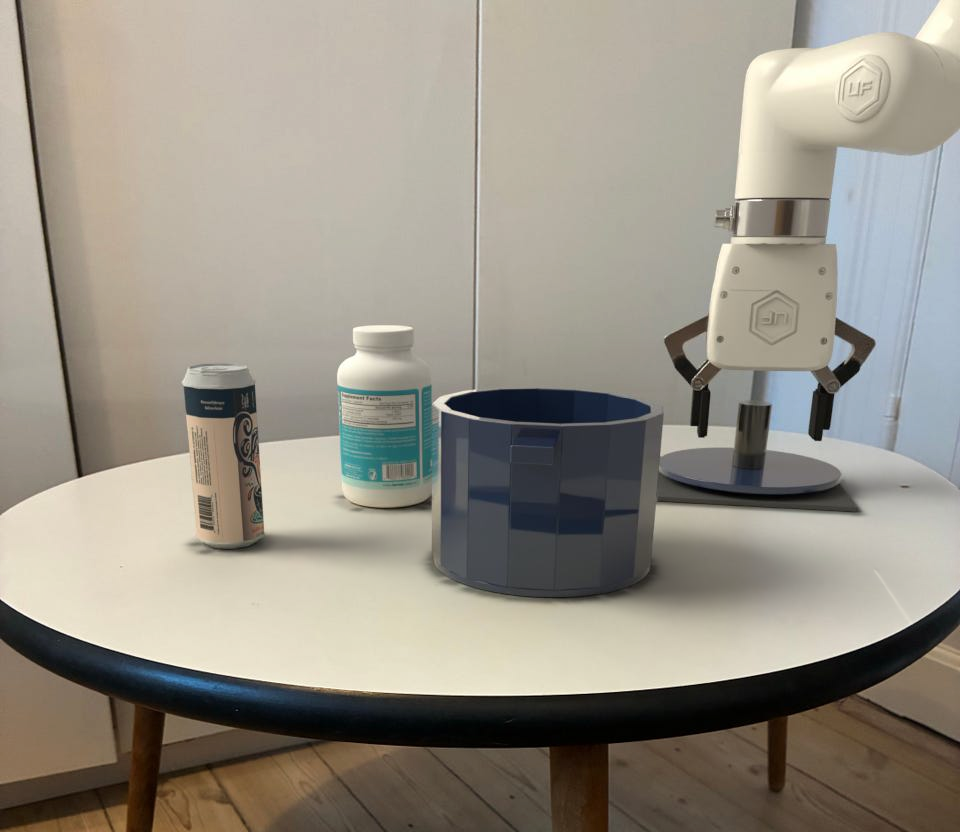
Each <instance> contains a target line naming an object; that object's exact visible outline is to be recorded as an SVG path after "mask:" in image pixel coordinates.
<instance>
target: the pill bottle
mask: <svg viewBox="0 0 960 832" xmlns="http://www.w3.org/2000/svg"><path fill="white" fill-rule="evenodd" d="M352 343H353V345H354V348H355V349H356V352H355V354H354V355H353V356H350V357H348V358H346V359H344V361H342V362H341V364H339V367H338V369H337V372H336V380H337V404H338V405H337V406H338V407H337V408H338V428H339V432H338V433H339V450H340V451H339V452H340V469H341V470H340V474H341V475H340V477H341V490H342V495H343V496H344V497H345V498H346V500H347V501H349V502H350V503H353V504H355V505H358V506H363V507H369V508H381V509H383V508H384V509H386V508H388V509H389V508H391V509H392V508H403V507H409V506H413V505H417V504H421V503H422V502H425V501H426V500H428V499H429V497H431V496H432V403H433V401H432V400H433V399H432V398H433V397H432V396H433V395H432V394H433V393H432V392H433V391H432V388H433V387H432V371H431V369H430V366H429V364H428V363H427V362H425V360H423V359H422V358H421V357H418V356H416V355H414V354H413V353H412V351H411V349H412V348H413V347H414V344H415V333H414V327H411V326H406V325H397V324H396V325H394V324H392V325H391V324H387V325H386V324H376V325H362V326H356V327H354V328H352Z"/></svg>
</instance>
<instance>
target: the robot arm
mask: <svg viewBox="0 0 960 832" xmlns="http://www.w3.org/2000/svg"><path fill="white" fill-rule="evenodd" d="M744 77H745V79H744V84H743V85H744V86H743V94H742V95H743V97H742V109H741V120H740V129H739V130H740V132H739V142H738V153H737V164H736V165H737V166H736V178H735V190H734V200H735V201H733V202H732V205H729V207H725V208H724V209H715V210H714V211H715V212H714V222H713V223H714V224H713V227H714V228H722V229H723V230H727V232H730V243H722V244H721V247H720V251H719V253H718V254H719V255H718V259H717V262H716V269H715V274H714V280H713V284H712V289H711V295H710V300H709V301H710V302H709V308H708V313H706V314H705V315H702V316H701V317H698V318H697V319H694V320H692V321H690V322H688V323H686V324H684V325H682V326H681V327H678V328H676V329H675V330H672V331H670V332H669V333H667V334H665V335H664V336H663V343H664V346H665V348H666V350H667V353H668V355H669V358H670V360H671V362H672V364H673V366H674V369H675V370H676V372H678V373H679V375H680V376H681V377H682V378H683V379H684V381H686V382H687V384H688V385H689V386H690V387H691V388H692V392H691V394H692V395H691V407H690V419H689V420H690V421H689V425H690V427H696V433H697V438H700V439H704V438H706V437H708V430H709V419H710V406H711V390H710V388H709V383H710V382H711V381H712V380H713V379H714V378H715V377H716V376H717V375H718V373H720V371H722V369H723V370H728V371H754V372H755V371H756V372H757V371H758V372H759V371H761V372H810V373H811V374H812V376H813V377H814V378H815V380H816V381H817V386H816V387H817V388H815V390H813V391H812V397H811V398H812V400H811V404H810V405H811V406H810V414H809V422H808V429H807V430H808V431H807V434H808V436H809V437H810V438H811V439H812V440H813V441H814V442H822V441H823V436H824V435H823V434H824V431H830V429H831V425H832V417H833V409H834V403H835V402H834V401H835V395H836V394H837V393H839V391H840V390H841V388H842V387H843V386H844V385H845V384H847V383H848V382H849V381H850V380H851V379H853V378H854V377H855V376H856V375H857V374H859V372H860V371H861V367H863V364H865V362H866V361H867V359H868V358H869V357H870V354H871V353H872V352H873V351H874V349H875V347H876V345H877V344H876V343H877V342H876V339H874V338H873V337H871V336H869V335H868V334H866V333H865V332H863V331H861V330H859V329H858V328H856V327H854V326H852V325H850V324H848V322H845V321H843V320H842V319H840V318H838V317H837V303H838V277H839V276H838V273H839V272H838V271H839V270H838V251H837V250H838V249H837V244H835V243H827V235H828V227H829V221H830V220H829V218H830V210H831V203H832V202H831V199H832V193H833V184H834V176H835V170H836V169H835V168H836V161H837V153H838V148H846V149H853V150H860V151H866V152H873V153H881V154H882V153H885V154H890V155H894V156H895V155H896V156H908V157H910V156H918V155H922V154H925V153H928V152H931V151H934V149H936V148H938V147H939V146H941V145H943V144H945V143H946V142H947V141H948V140H949V139H950V138H952V137H953V136H954V135H955V134H956V133H957V132H958V131H959V130H960V0H939V1H938V3H937V5H936V6H935V8H934V9H933V11H932V12H931V14H930V15H929V17H928V18H927V19H926V21H925V23H924V24H923V25H922V27H921V29H920V30H919V32H918V33H917V34H916V36H915V37H911V36H909V35H906V34H903V33H900V32H892V31H881V32H875V33H869V34H864V35H861V36H857V37H854V38H851V39H847V40H844V41H841V42H837V43H834V44H831V45H827V46H822V47H818V48H817V47H793V48H783V49H776V50H769V51H767V52H764V53H762V54H759V55H758V56H756V57H755V58H754V59H753V60H752V61H751V62H750V63H749V66H748V68H747V70H746V73H745V76H744ZM705 333H706V334H705ZM704 334H705V354H706V359H705V360H704V361H703V362H702V363H701V364H700V365H699V366H698V367H696V366H694V364H693V363H692V362H691V361H690V360H689V359H688V358H687V354H686V353H685V351H684V345H685V344H686V343H688V342H689V341H691V340H693V339H695V338H697V337H699V336H701V335H704ZM835 336H836V337H837V338H839V339H841V340H843V341H844V342H846V343H848V344H849V345H850V346H851V350H850V352H849V353H848V355H847V358H846V359H844V361H842V362H841V363H840V364H839V365H837V366H836V367H835V368H834V369H833V370H831V367H829V364H830V362H831V359H832V357H833V351H834V343H835Z"/></svg>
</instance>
